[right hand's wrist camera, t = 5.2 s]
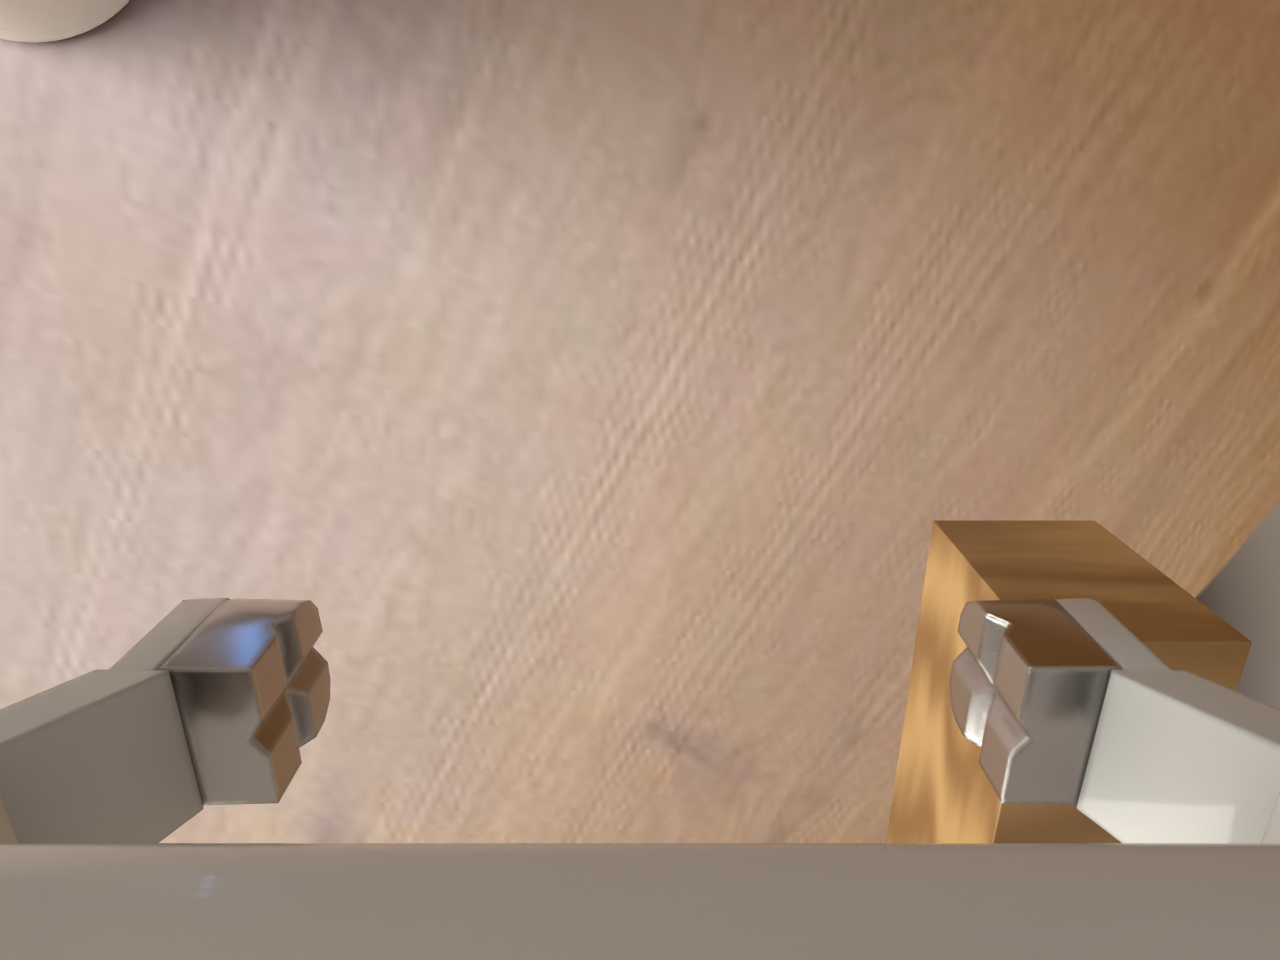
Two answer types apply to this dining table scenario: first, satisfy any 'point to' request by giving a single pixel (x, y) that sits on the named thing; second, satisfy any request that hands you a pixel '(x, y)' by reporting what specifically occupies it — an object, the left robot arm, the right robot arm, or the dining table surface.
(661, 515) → the dining table surface
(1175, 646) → the box
